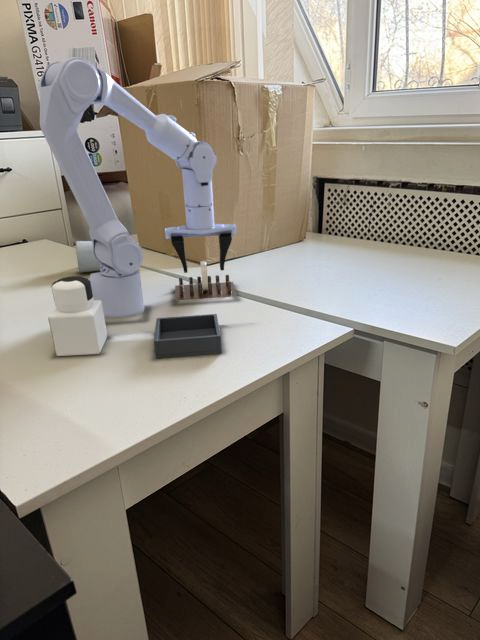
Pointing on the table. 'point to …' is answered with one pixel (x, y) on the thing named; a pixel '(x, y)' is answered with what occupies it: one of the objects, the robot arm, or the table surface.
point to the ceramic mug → (86, 257)
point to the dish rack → (197, 293)
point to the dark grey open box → (187, 336)
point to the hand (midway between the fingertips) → (204, 270)
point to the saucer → (204, 275)
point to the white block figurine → (76, 318)
